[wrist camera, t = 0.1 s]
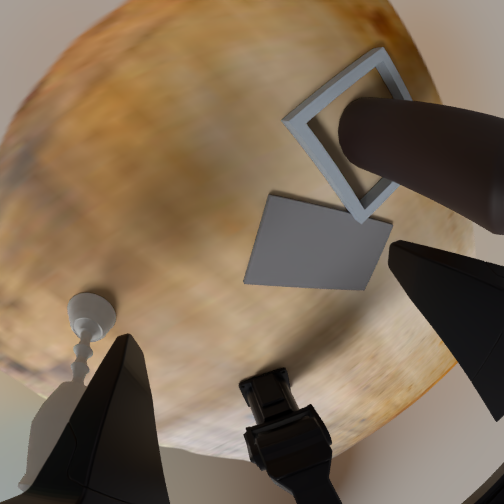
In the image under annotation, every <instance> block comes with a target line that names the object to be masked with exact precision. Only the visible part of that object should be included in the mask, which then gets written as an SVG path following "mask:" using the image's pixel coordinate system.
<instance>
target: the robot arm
mask: <svg viewBox="0 0 504 504" xmlns="http://www.w3.org/2000/svg"><path fill="white" fill-rule="evenodd" d="M388 266H389V268H390V270H391V271H392V273H393V274H394V276H395V277H396V279H397V280H398V282H399V283H400V285H401V286H402V287H403V289H404V290H405V292H406V293H407V295H408V296H409V298H410V299H411V301H412V302H413V303H414V304H415V306H416V307H417V308H418V309H419V311H420V312H421V313H422V314H423V316H424V317H425V318H426V320H427V321H428V322H429V323H430V325H431V326H432V327H433V329H434V330H435V331H436V333H437V334H438V335H439V337H440V338H441V339H442V341H443V342H444V343H445V345H446V346H447V347H448V349H449V350H450V352H451V353H452V354H453V356H454V357H455V359H456V360H457V361H458V363H459V364H460V366H461V367H462V369H463V370H464V372H465V373H466V374H467V376H468V378H469V379H470V381H472V384H473V385H474V387H475V389H476V390H477V392H478V393H479V395H480V396H481V398H482V400H483V401H484V403H485V405H486V406H487V408H488V409H489V411H490V413H491V415H492V416H493V418H494V419H495V421H496V422H497V421H498V420H500V419H501V418H502V417H503V416H504V266H500V265H497V264H493V263H489V262H484V261H482V260H478V259H475V258H471V257H467V256H464V255H460V254H456V253H452V252H448V251H444V250H440V249H436V248H432V247H428V246H424V245H420V244H416V243H411V242H407V241H403V240H398V241H395V242H393V243H391V244H390V247H389V257H388ZM239 388H240V390H241V392H242V395H243V397H244V399H245V401H246V403H247V405H248V406H249V407H251V410H252V413H253V416H254V418H255V421H256V424H257V425H255V426H252V427H247V428H246V431H247V432H246V433H245V434H243V435H244V438H245V441H246V444H247V448H248V453H249V457H250V461H251V462H252V463H255V464H256V465H257V466H258V467H259V468H260V470H261V471H263V470H266V471H267V473H268V475H269V477H270V478H271V479H272V481H273V482H274V483H275V484H276V485H277V486H279V487H281V488H282V489H284V490H285V491H287V492H288V493H290V494H291V495H293V496H294V498H295V500H296V503H297V504H342V502H341V500H340V498H339V497H338V495H337V493H336V491H335V489H334V487H333V485H332V483H331V481H330V479H329V473H330V466H331V459H332V449H331V447H330V445H332V440H331V437H330V434H329V432H328V430H327V428H326V426H325V424H324V423H323V421H322V420H321V418H320V417H319V415H318V413H317V412H316V410H315V409H314V407H313V406H312V404H310V405H307V407H304V408H302V409H299V407H298V405H297V403H296V401H295V399H294V397H293V395H292V393H291V389H290V384H289V378H288V373H287V370H286V368H281V369H278V370H276V371H273V372H270V373H267V374H265V375H262V376H259V377H256V378H253V379H250V380H247V381H244V382H241V383H239ZM0 504H170V502H169V497H168V492H167V488H166V483H165V478H164V474H163V468H162V463H161V457H160V451H159V445H158V438H157V431H156V424H155V416H154V407H153V400H152V394H151V389H150V384H149V380H148V375H147V370H146V364H145V359H144V355H143V352H142V350H141V348H140V347H139V345H138V344H137V342H136V341H135V340H134V338H133V336H132V335H131V334H128V333H127V334H124V335H120V336H118V337H117V338H116V340H115V341H114V343H113V344H112V346H111V348H110V349H109V351H108V353H107V354H106V356H105V357H104V359H103V361H102V362H101V364H100V366H99V367H98V369H97V371H96V372H95V374H94V376H93V378H92V379H91V381H90V383H89V384H88V386H87V388H86V390H85V391H84V393H83V395H82V397H81V399H80V400H79V402H78V404H77V406H76V408H75V409H74V411H73V413H72V415H71V417H70V419H69V422H67V424H66V426H65V428H64V430H63V432H62V434H61V435H60V437H59V439H58V441H57V443H56V445H55V446H54V448H53V450H52V451H51V453H50V455H49V457H48V458H47V460H46V461H45V463H44V465H43V466H42V468H41V470H40V471H39V473H38V475H37V477H36V478H35V480H34V482H33V483H32V485H31V486H30V487H29V488H28V489H27V490H26V491H25V492H23V493H22V494H20V495H18V496H15V497H13V498H11V499H8V500H5V501H3V502H0ZM462 504H504V463H503V464H502V465H501V466H500V467H499V468H498V469H497V470H496V471H495V472H494V473H493V475H492V476H491V477H490V478H489V479H488V480H487V481H486V482H485V483H484V484H483V485H482V486H480V487H479V488H478V489H477V490H476V491H475V492H474V493H473V494H472V495H471V496H470V497H469V498H467V499H466V500H465V501H464V502H463V503H462Z"/></svg>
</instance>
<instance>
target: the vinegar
mask: <svg viewBox="0 0 504 504" xmlns="http://www.w3.org/2000/svg"><path fill="white" fill-rule="evenodd" d="M338 136H339V143H340V146H341V149H342V151H343V153H344V155H345V156H346V157H347V159H348V160H349V161H350V162H351V163H353V164H354V165H356V166H357V167H359V168H361V169H364V170H366V171H369V172H371V173H374V174H376V175H379V176H381V177H384V178H386V179H388V180H391V181H393V182H395V183H397V184H400V185H402V186H404V187H406V188H409V189H411V190H413V191H415V192H417V193H419V194H421V195H423V196H425V197H428V198H430V199H432V200H434V201H436V202H438V203H440V204H441V205H443V206H445V207H447V208H449V209H451V210H453V211H455V212H457V213H459V214H460V215H462V216H464V217H466V218H468V219H469V220H471V221H473V222H475V223H476V224H478V225H480V226H482V227H483V228H485V229H486V230H488V231H490V232H492V233H493V234H499V235H504V119H503V118H499V117H496V116H492V115H488V114H484V113H480V112H475V111H471V110H466V109H461V108H456V107H451V106H445V105H439V104H433V103H426V102H418V101H410V100H400V99H388V98H373V97H367V98H360V99H358V100H355V101H353V102H351V103H350V104H349V106H348V107H347V108H346V109H345V110H344V112H343V114H342V116H341V118H340V122H339V128H338Z"/></svg>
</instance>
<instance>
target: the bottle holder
mask: <svg viewBox="0 0 504 504" xmlns="http://www.w3.org/2000/svg"><path fill="white" fill-rule="evenodd" d="M374 67H376V68H377V70H378V72H379V73H380V75H381V77H382V78H383V80H384V82H385V84H386V85H387V87H388V89H389V91H390V93H391V95H392V96H393V98H394V99H400V100H410V101H413V100H412V98H411V96H410V94H409V92H408V90H407V88H406V86H405V84H404V82H403V80H402V79H401V77H400V75H399V73H398V71H397V69H396V68H395V66H394V64H393V62H392V61H391V59H390V57H389V55H388V54H387V52H386V50H385V49H384V47H380V48H373V49H372V50H370V51H369V52H367V53H366V54H364V55H363V56H362V57H360V58H359V59H358V60H356V61H355V62H353V63H352V64H351V65H349V66H348V67H347V68H345V69H344V70H343V71H341V72H340V73H339V74H337V75H336V76H335V77H333V78H332V79H331V80H330V81H328V82H327V83H326V84H325V85H323V86H322V87H321V88H319V89H318V90H317V91H316V92H314V93H313V94H312V95H311V96H310V97H308V98H307V99H306V100H305V101H303V102H302V103H301V104H300V105H299V106H297V107H296V108H295V109H294V110H293V111H291V112H290V113H289V114H288V115H287V116H286V117H284V118H283V119H282V120H281V121H282V122H283V124H284V125H285V126H286V127H287V129H288V130H289V131H290V132H291V134H292V135H293V136H294V137H295V139H296V140H297V141H298V142H299V144H300V145H301V146H302V147H303V149H304V150H305V151H306V153H307V154H308V155H309V157H310V158H311V159H312V161H313V162H314V163H315V165H316V166H317V167H318V169H319V170H320V171H321V173H322V174H323V176H324V177H325V178H326V180H327V181H328V183H329V184H330V185H331V187H332V188H333V190H334V191H335V192H336V194H337V195H338V197H339V198H340V200H341V201H342V203H343V204H344V206H345V207H346V209H347V210H348V212H349V213H351V214H352V216H353V217H354V219H355V220H356V221H358V222H359V223H361V224H362V223H363V222H364V221H365V220H366V219H367V218H368V217H369V216H370V215H371V214H372V213H373V212H374V211H375V210H376V209H377V208H378V207H379V206H380V205H381V204H382V203H383V202H384V201H385V200H386V199H387V198H388V197H389V196H390V195H391V194H392V193H393V192H394V191H395V190H396V189H397V188H398V187H399V185H400V184H397V183H395V182H393V181H391V180H388V179H386V178H384V177H383V178H382V179H381V180H380V181H379V182H378V183H377V184H376V185H375V186H374V187H373V188H372V189H371V190H370V191H369V192H368V193H367V194H366V195H365V196H364V197H363V198H362V199H361V200H360V201H359V200H358V198H357V197H356V195H355V194H354V192H353V190H352V189H351V187H350V186H349V184H348V183H347V181H346V180H345V178H344V176H343V175H342V173H341V172H340V170H339V169H338V167H337V166H336V164H335V163H334V162H333V160H332V159H331V157H330V156H329V154H328V153H327V151H326V150H325V149H324V147H323V146H322V144H321V143H320V142H319V140H318V139H317V137H316V136H315V135H314V133H313V132H312V131H311V129H310V128H309V127H308V125H307V124H306V123H307V122H308V121H309V120H310V119H311V118H313V117H314V116H315V115H316V114H317V113H319V112H320V111H321V110H322V109H323V108H324V107H326V106H327V105H328V104H329V103H330V102H332V101H333V100H334V99H335V98H336V97H338V96H339V95H340V94H341V93H343V92H344V91H345V90H346V89H347V88H349V87H350V86H351V85H352V84H354V83H355V82H356V81H357V80H359V79H360V78H361V77H363V76H364V75H365V74H366V73H368V72H369V71H370V70H372V69H373V68H374Z"/></svg>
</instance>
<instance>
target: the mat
mask: <svg viewBox="0 0 504 504" xmlns="http://www.w3.org/2000/svg"><path fill="white" fill-rule="evenodd" d="M392 227H393V225H392V224H390V223H387V222H383V221H379V220H376V219H372V218H367V219H366V220H365V221H364V222H363V223H362V224H361V223H359V222H358V221H356V220H355V219H354V217H353V216H352V214H351V213H349V212H345V211H341V210H337V209H333V208H329V207H324V206H320V205H316V204H312V203H307V202H303V201H298V200H294V199H289V198H285V197H280V196H275V195H270V194H269V195H268V198H267V202H266V205H265V208H264V212H263V215H262V219H261V222H260V226H259V229H258V232H257V236H256V239H255V243H254V246H253V249H252V253H251V256H250V260H249V263H248V267H247V270H246V273H245V277H244V280H243V282H244V284H252V285H267V286H283V287H301V288H320V289H341V290H365V288H366V286H367V284H368V282H369V280H370V278H371V275H372V273H373V271H374V269H375V267H376V265H377V262H378V260H379V258H380V256H381V254H382V251H383V249H384V247H385V244H386V242H387V240H388V237H389V235H390V232H391V230H392Z"/></svg>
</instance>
